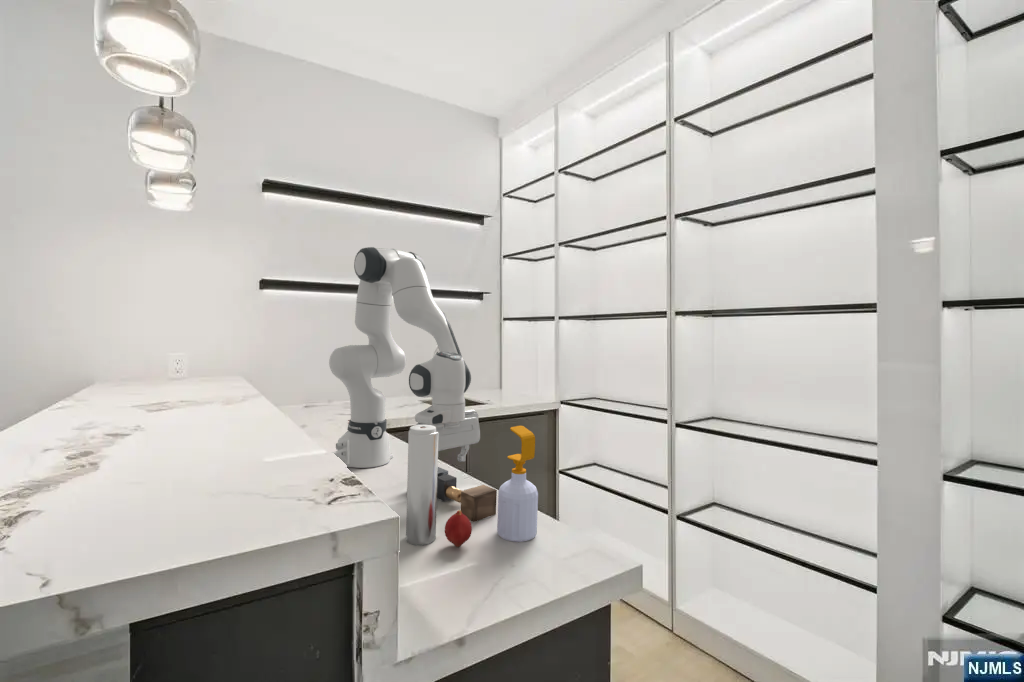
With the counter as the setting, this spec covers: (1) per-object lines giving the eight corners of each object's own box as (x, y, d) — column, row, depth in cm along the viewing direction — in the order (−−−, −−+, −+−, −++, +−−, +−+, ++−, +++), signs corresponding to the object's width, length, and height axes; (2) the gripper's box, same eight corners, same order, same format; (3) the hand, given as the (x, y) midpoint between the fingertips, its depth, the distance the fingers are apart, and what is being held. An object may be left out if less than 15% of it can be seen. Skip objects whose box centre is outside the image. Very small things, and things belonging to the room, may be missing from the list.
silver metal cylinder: (429, 547, 102) (432, 431, 101) (400, 543, 103) (403, 428, 102) (439, 534, 108) (442, 424, 107) (413, 530, 109) (415, 422, 108)
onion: (441, 542, 104) (442, 506, 104) (466, 538, 107) (467, 503, 106) (448, 554, 99) (449, 516, 99) (474, 550, 101) (476, 513, 101)
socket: (460, 515, 119) (461, 491, 118) (482, 508, 124) (483, 484, 123) (473, 522, 115) (474, 497, 115) (495, 514, 120) (496, 490, 120)
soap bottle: (516, 521, 116) (520, 421, 115) (544, 534, 110) (548, 428, 109) (488, 532, 110) (492, 426, 109) (517, 546, 103) (520, 434, 102)
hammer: (417, 488, 135) (417, 469, 135) (429, 485, 138) (429, 466, 137) (454, 506, 123) (455, 485, 123) (466, 502, 126) (467, 482, 125)
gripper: (470, 407, 137) (470, 455, 138) (409, 416, 123) (408, 469, 123) (485, 410, 133) (484, 460, 133) (423, 419, 118) (422, 475, 119)
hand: (447, 464), depth 128 cm, fingers open, 8 cm apart
